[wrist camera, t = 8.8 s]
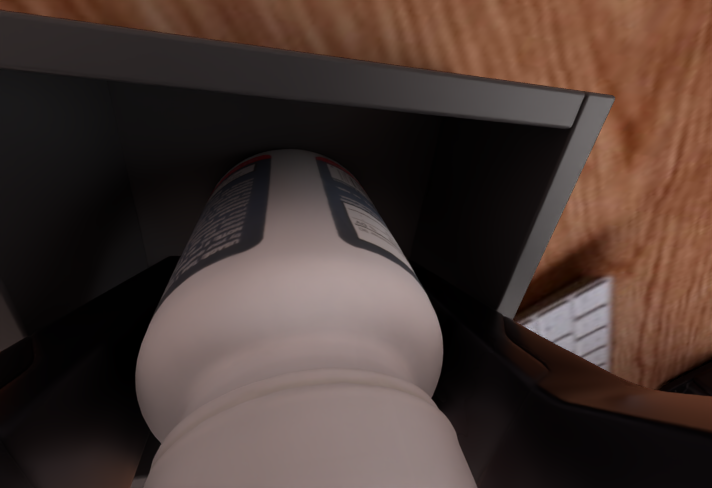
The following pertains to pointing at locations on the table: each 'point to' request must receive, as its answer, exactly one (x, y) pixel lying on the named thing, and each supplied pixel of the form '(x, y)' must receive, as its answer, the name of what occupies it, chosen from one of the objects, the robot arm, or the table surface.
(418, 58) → the table surface
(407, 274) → the pill bottle
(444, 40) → the table surface
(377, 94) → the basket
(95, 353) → the robot arm
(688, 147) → the table surface
